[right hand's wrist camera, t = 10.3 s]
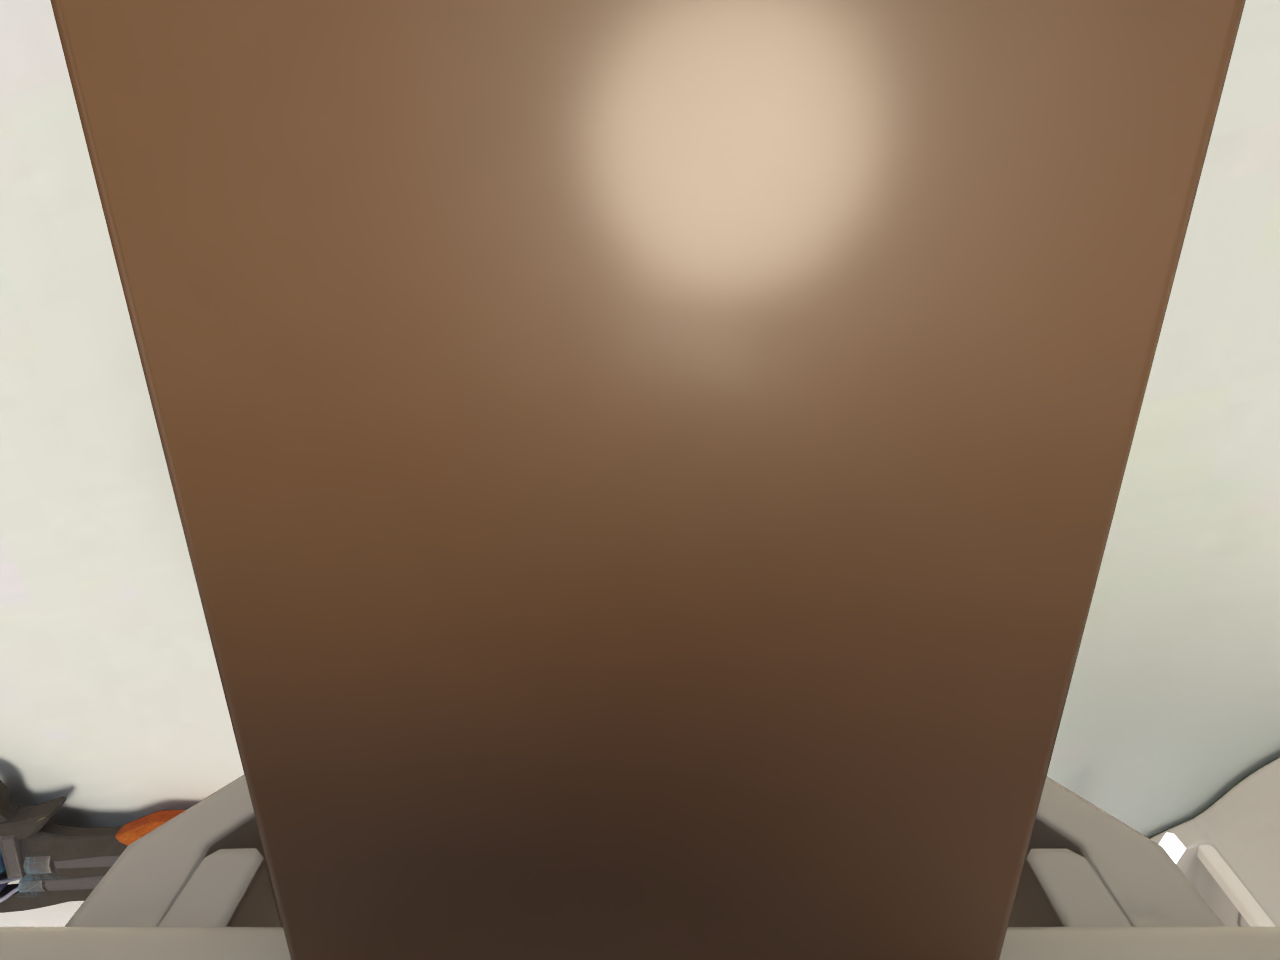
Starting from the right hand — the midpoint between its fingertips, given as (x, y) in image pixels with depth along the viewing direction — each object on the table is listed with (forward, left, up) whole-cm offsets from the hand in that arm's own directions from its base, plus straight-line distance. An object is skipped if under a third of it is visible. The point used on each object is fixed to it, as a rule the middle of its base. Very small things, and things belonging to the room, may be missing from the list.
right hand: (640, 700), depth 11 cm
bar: (+9, 0, -4) cm, 9 cm away
